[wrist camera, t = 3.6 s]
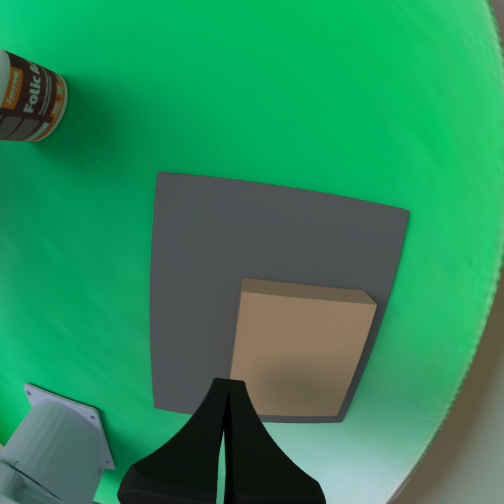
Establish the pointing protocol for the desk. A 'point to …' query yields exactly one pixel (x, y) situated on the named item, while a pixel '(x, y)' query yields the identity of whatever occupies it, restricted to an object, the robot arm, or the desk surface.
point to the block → (298, 345)
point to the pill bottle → (29, 99)
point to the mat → (252, 271)
